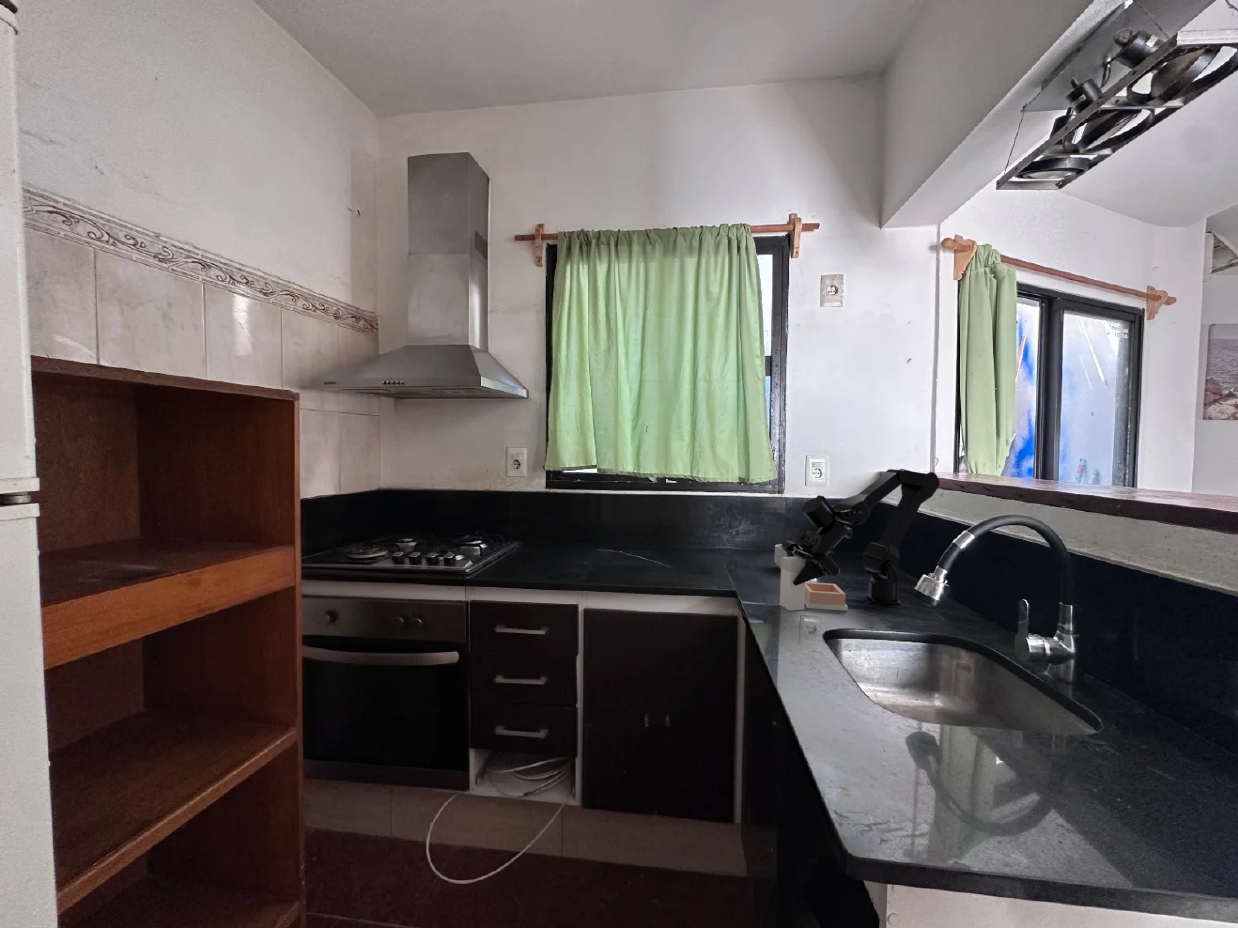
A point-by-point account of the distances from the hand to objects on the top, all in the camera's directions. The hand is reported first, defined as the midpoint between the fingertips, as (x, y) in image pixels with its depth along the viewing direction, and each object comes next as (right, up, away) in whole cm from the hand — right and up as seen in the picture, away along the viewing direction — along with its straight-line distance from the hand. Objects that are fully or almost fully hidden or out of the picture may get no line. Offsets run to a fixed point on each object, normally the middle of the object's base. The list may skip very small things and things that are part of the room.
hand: (787, 580), depth 123 cm
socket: (+11, -7, +4) cm, 14 cm away
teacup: (+14, -6, +36) cm, 39 cm away
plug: (+1, -7, +1) cm, 7 cm away
